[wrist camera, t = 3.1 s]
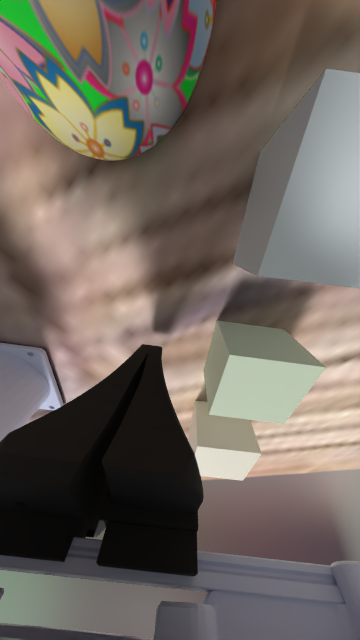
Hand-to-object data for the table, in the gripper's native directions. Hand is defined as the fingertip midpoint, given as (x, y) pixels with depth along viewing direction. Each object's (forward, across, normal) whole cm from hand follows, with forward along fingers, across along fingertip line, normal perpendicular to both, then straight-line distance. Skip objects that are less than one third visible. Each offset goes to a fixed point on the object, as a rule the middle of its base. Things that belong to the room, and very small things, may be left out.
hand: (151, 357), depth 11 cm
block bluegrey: (+2, -7, -9) cm, 11 cm away
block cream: (+2, -7, +9) cm, 11 cm away
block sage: (+2, -7, 0) cm, 7 cm away
